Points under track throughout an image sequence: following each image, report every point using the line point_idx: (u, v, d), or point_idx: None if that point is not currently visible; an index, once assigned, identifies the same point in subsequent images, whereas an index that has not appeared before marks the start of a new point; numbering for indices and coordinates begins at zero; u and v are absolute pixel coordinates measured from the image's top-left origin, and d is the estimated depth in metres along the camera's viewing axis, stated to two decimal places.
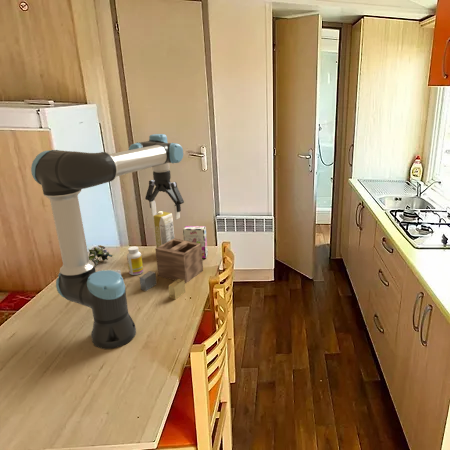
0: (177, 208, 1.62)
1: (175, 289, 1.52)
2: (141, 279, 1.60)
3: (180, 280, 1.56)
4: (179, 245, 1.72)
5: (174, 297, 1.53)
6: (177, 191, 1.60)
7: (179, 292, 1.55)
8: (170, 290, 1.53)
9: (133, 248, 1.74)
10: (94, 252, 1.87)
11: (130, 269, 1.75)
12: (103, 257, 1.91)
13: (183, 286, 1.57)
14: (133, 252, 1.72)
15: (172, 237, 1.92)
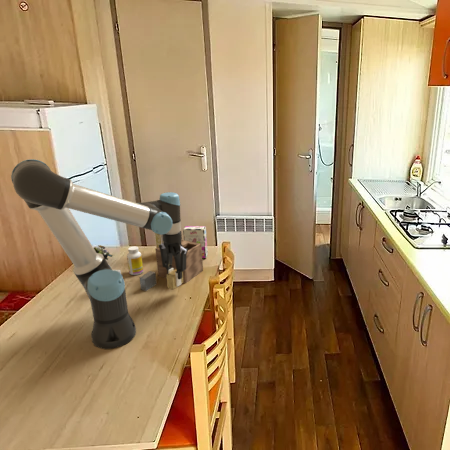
0: (178, 275, 1.51)
1: (173, 278, 1.50)
2: (141, 279, 1.60)
3: None
4: None
5: (172, 286, 1.51)
6: (184, 258, 1.48)
7: None
8: (168, 279, 1.51)
9: (133, 248, 1.74)
10: None
11: (130, 269, 1.75)
12: None
13: None
14: (133, 252, 1.72)
15: None
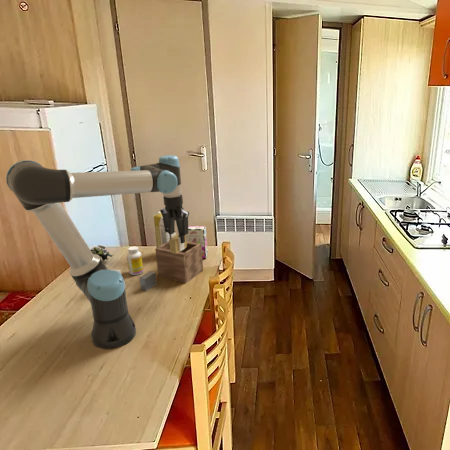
0: (181, 239, 1.51)
1: (175, 242, 1.50)
2: (141, 279, 1.60)
3: None
4: None
5: (175, 251, 1.51)
6: (186, 222, 1.48)
7: None
8: (171, 244, 1.51)
9: (133, 248, 1.74)
10: (94, 252, 1.87)
11: (130, 269, 1.75)
12: (103, 257, 1.91)
13: None
14: (133, 252, 1.72)
15: None
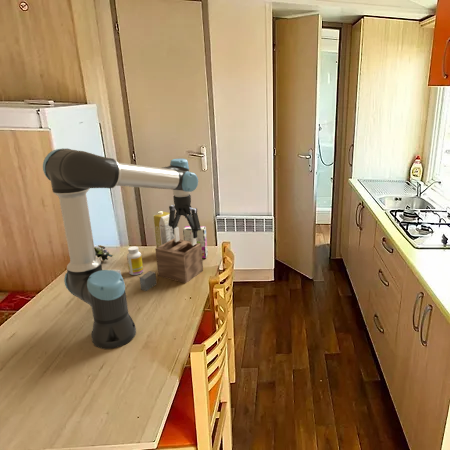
0: (194, 234, 1.63)
1: None
2: (141, 279, 1.60)
3: None
4: (179, 245, 1.72)
5: None
6: (196, 218, 1.61)
7: None
8: None
9: (133, 248, 1.74)
10: None
11: (130, 269, 1.75)
12: (103, 257, 1.91)
13: None
14: (133, 252, 1.72)
15: (172, 237, 1.92)
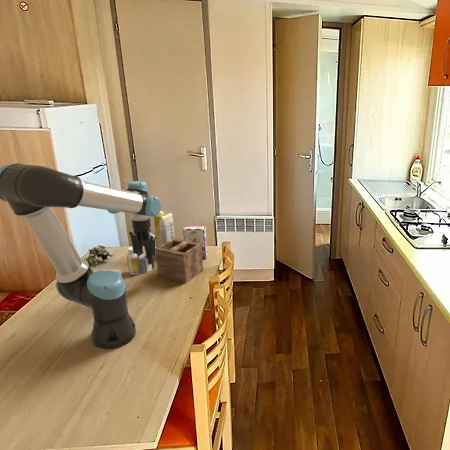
0: (148, 260, 1.58)
1: None
2: (138, 262, 1.57)
3: None
4: (179, 245, 1.72)
5: None
6: (153, 244, 1.55)
7: None
8: None
9: None
10: (94, 252, 1.87)
11: (130, 269, 1.75)
12: (103, 257, 1.91)
13: None
14: (133, 252, 1.72)
15: (172, 237, 1.92)
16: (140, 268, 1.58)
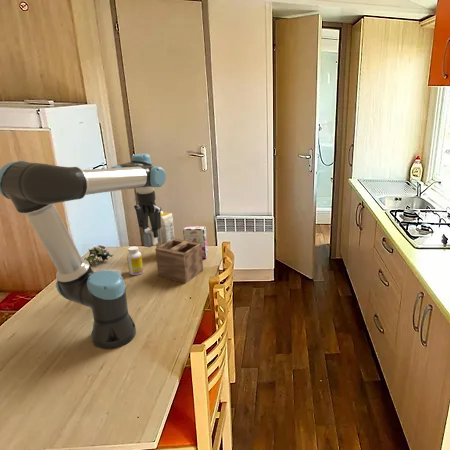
0: (154, 234, 1.58)
1: None
2: (144, 235, 1.58)
3: None
4: (179, 245, 1.72)
5: None
6: (159, 217, 1.55)
7: None
8: None
9: (133, 248, 1.74)
10: (94, 252, 1.87)
11: (130, 269, 1.75)
12: (103, 257, 1.91)
13: None
14: (133, 252, 1.72)
15: (172, 237, 1.92)
16: (146, 241, 1.59)
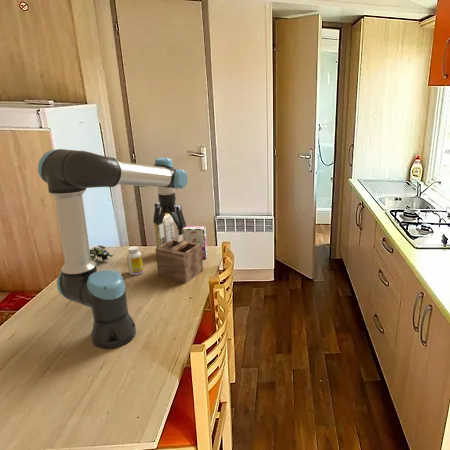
0: (179, 231, 1.67)
1: None
2: None
3: None
4: (179, 245, 1.72)
5: None
6: (181, 215, 1.65)
7: None
8: None
9: (133, 248, 1.74)
10: (94, 252, 1.87)
11: (130, 269, 1.75)
12: (103, 257, 1.91)
13: None
14: (133, 252, 1.72)
15: (172, 237, 1.92)
16: None
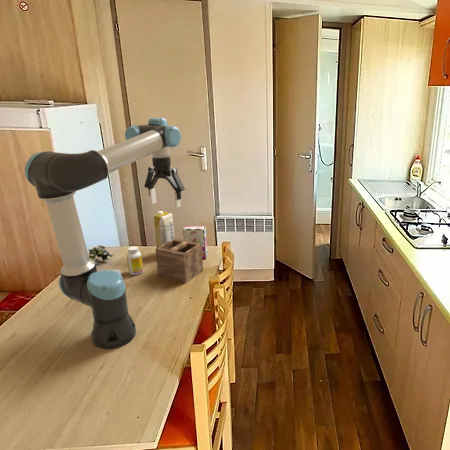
0: (177, 195, 1.56)
1: None
2: None
3: None
4: (179, 245, 1.72)
5: None
6: (178, 178, 1.54)
7: None
8: None
9: (133, 248, 1.74)
10: (94, 252, 1.87)
11: (130, 269, 1.75)
12: (103, 257, 1.91)
13: None
14: (133, 252, 1.72)
15: (172, 237, 1.92)
16: None
